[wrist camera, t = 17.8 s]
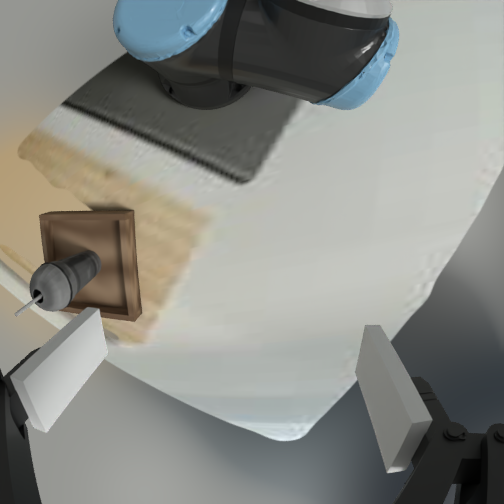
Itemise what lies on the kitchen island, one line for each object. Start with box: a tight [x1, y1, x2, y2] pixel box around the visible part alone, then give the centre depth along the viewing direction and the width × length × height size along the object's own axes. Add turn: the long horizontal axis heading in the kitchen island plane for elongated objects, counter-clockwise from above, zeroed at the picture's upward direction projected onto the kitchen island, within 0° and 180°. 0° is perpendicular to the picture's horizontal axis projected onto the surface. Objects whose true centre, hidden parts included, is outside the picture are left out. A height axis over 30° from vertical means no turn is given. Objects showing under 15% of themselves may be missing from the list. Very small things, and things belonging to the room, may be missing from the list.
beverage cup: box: [15, 250, 101, 316], centre depth 41 cm, size 7×7×20 cm
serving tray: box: [39, 210, 142, 322], centre depth 50 cm, size 18×18×4 cm
